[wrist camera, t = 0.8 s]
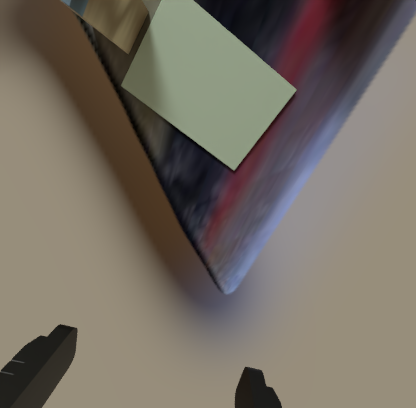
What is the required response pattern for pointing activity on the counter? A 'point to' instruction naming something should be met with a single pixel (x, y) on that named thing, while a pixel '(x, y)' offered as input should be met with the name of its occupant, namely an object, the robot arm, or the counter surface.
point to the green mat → (205, 81)
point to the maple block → (112, 18)
